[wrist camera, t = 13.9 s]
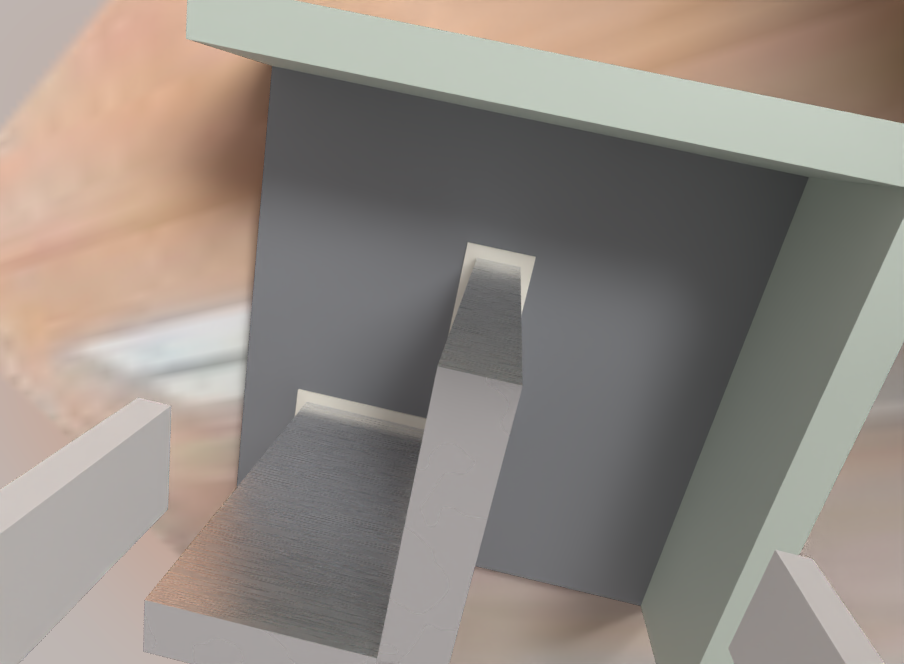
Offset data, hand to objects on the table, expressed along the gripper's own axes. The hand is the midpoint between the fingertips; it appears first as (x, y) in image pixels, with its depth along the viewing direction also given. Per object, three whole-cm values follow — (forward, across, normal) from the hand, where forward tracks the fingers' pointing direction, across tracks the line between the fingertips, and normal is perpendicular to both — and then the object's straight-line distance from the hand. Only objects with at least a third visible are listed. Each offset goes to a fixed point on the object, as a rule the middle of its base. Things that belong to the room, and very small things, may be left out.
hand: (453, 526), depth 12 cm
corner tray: (+14, +1, -1) cm, 14 cm away
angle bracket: (+12, -3, -2) cm, 13 cm away
